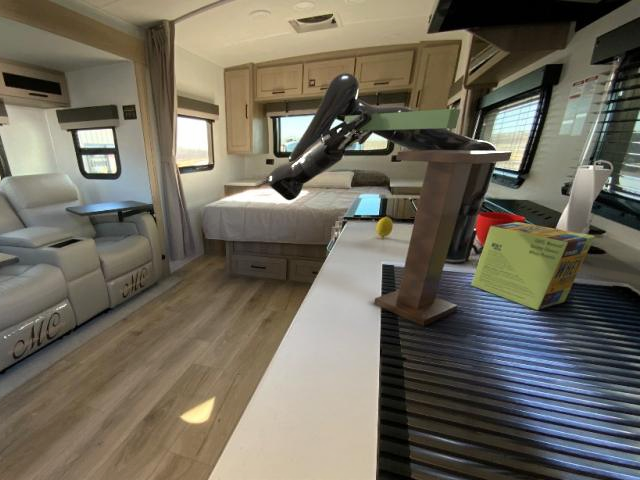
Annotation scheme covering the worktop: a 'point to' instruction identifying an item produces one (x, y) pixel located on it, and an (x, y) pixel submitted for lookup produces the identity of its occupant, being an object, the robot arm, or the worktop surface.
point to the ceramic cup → (493, 223)
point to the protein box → (531, 263)
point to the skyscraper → (583, 197)
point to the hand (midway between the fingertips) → (374, 114)
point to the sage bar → (411, 120)
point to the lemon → (384, 227)
